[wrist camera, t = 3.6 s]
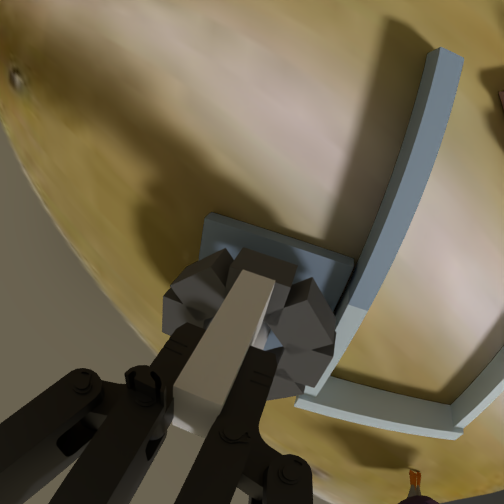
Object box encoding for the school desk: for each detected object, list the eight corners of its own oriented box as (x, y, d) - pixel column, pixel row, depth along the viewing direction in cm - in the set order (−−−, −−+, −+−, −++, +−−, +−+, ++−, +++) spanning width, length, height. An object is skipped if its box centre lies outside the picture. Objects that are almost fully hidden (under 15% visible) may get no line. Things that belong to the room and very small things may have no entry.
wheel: (184, 227, 17) (165, 244, 15) (359, 285, 15) (359, 310, 14) (174, 345, 22) (162, 364, 20) (302, 392, 20) (296, 414, 19)
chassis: (252, 6, 13) (187, -41, 7) (604, 175, 9) (670, 219, 3) (193, 338, 25) (150, 407, 19) (452, 413, 22) (457, 483, 16)
